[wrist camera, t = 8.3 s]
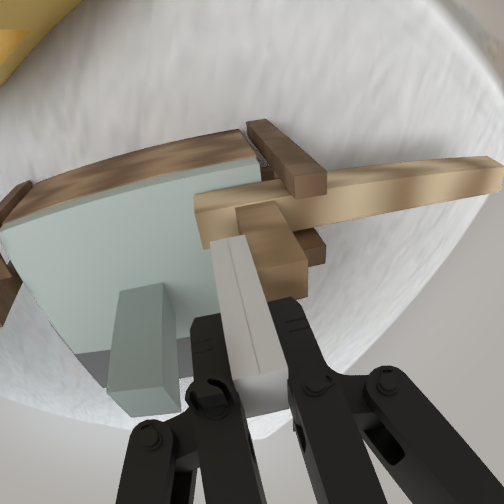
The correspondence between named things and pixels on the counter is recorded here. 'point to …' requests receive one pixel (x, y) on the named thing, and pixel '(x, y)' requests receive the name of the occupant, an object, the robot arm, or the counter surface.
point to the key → (331, 209)
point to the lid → (127, 276)
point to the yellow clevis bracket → (26, 28)
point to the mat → (100, 360)
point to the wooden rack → (167, 162)
